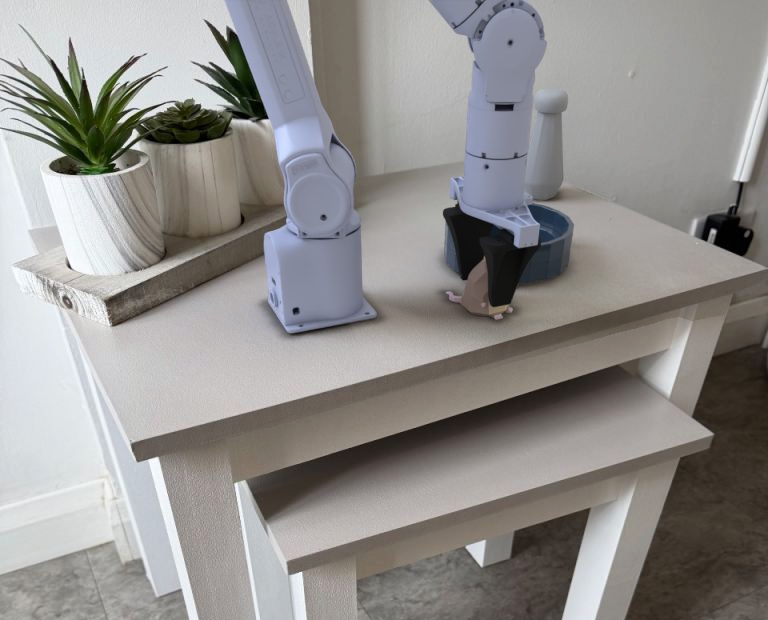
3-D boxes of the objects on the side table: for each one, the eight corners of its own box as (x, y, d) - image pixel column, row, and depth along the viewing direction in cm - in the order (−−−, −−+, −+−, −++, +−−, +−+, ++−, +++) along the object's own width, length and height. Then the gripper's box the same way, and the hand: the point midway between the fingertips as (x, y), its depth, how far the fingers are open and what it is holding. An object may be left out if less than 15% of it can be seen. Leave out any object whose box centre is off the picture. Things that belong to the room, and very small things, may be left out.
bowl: (478, 296, 84) (481, 255, 81) (424, 248, 94) (425, 210, 91) (592, 275, 88) (599, 235, 85) (528, 230, 98) (533, 194, 95)
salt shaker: (560, 203, 106) (574, 96, 97) (517, 200, 106) (528, 94, 98) (561, 189, 110) (575, 85, 102) (520, 186, 111) (530, 83, 102)
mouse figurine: (460, 285, 86) (464, 224, 82) (521, 307, 82) (528, 244, 78) (430, 301, 83) (432, 238, 79) (492, 324, 79) (497, 260, 75)
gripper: (577, 168, 68) (555, 313, 77) (498, 125, 78) (487, 258, 87) (504, 178, 66) (491, 326, 75) (433, 133, 76) (428, 268, 85)
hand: (484, 290), depth 81 cm, fingers open, 6 cm apart
